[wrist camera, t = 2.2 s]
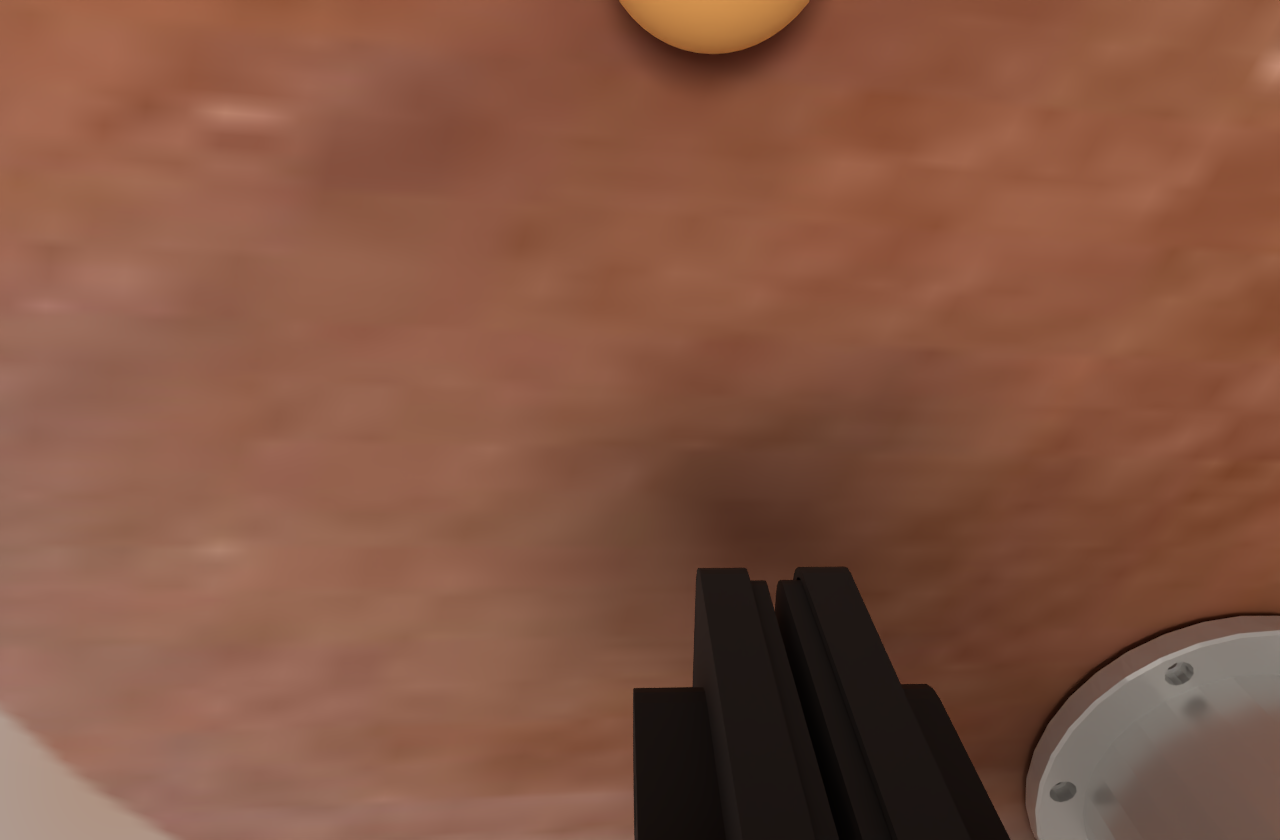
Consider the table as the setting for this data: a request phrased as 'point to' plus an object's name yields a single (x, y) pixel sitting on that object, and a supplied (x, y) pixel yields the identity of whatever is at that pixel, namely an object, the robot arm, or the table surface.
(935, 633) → the table surface
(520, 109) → the table surface
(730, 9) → the ball
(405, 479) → the table surface
